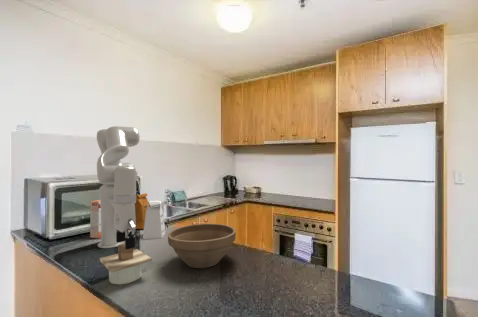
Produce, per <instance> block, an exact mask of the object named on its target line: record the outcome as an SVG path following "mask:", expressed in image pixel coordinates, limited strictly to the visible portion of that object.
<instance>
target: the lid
mask: <svg viewBox="0 0 478 317" xmlns="http://www.w3.org/2000/svg"><path fill="white" fill-rule="evenodd" d="M152 261H153V258H152V257H151V256H149V255H147V254H146V253H145V252H143V251H141V249H138V248H135V249H134V248H131V249H125V243H124V244H119V245H118V246H117V253H115V254H111V255H108V256H103V257H99V263H101V264H102V265H103V266H104V267H105V268H106V269H107V270H108V272H109V271H110V272H111V273H112V272H115V271H119V270H122V269H126V268H129V267H133V266H136V265H140V264H142V265H143V264H147V263H149V262H150V263H151V262H152Z"/></svg>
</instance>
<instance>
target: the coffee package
mask: <svg viewBox="0 0 478 317" xmlns="http://www.w3.org/2000/svg"><path fill="white" fill-rule="evenodd" d="M147 196H148V193H147V192H145V193H141V194H136V203H134V204H135V217H136V230H144V225H145V217H146V210H147V203H148V202H149V201H148V198H147ZM149 208H152V206H151V203H149Z"/></svg>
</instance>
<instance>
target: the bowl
mask: <svg viewBox="0 0 478 317" xmlns="http://www.w3.org/2000/svg"><path fill="white" fill-rule="evenodd" d="M142 265H143V264H140V265H136V266H133V267H129V268H126V269H122V270H119V271H115V272H112V273H111V272H110V271H109V270H108V282H110V284H114V285H126V284H129V283H132V282H136V281H137V280H138V279H141V276H142V273H143V272H142V268H143V267H142Z"/></svg>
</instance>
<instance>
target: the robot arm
mask: <svg viewBox="0 0 478 317" xmlns="http://www.w3.org/2000/svg"><path fill="white" fill-rule="evenodd" d="M140 138H141V136H140V133H139V131H138V129H137V128H136V127H133V126H132V127H131V126H119V125H117V126H110V127H108V128H105V129H99V130H97V132H96V141H97V144H98V147H99V150H100V152H101V154H100V155H99V157H98V159H97V162H96V173H97V176H96V177H97V180H98V182H99V183H100V184H101V186H100V187H99V189H98V195H99V200H100V203H101V238H100V242H98V243H97V247H98V248H100V249H113V248H116V247H117V248H118V245H119V244H124V243H125V249H131V248H133V249H134V248H135V247H136V230H137V229H136V217H135V204H134V203H136V196H137V179H138V170H137V168H136V167H135V165H134V163H131V162H121V160H122V159H124V158H126V157H127V156H128V154H129V151H130V149H129V148H130V147H135V146H137V145H138V144H139V143H140Z"/></svg>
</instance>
